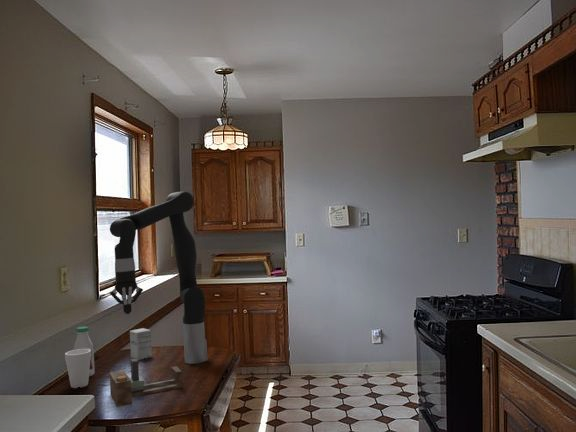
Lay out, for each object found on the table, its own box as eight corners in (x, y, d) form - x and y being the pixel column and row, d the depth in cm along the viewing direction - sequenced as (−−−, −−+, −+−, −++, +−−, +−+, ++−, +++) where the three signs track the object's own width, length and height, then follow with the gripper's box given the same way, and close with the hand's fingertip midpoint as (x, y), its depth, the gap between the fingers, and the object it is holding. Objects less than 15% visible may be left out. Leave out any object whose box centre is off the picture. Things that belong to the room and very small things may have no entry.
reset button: (125, 388, 176) (124, 375, 176) (126, 390, 174) (125, 377, 174) (118, 389, 175) (117, 376, 175) (119, 391, 173) (118, 378, 173)
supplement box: (130, 357, 235) (129, 330, 235) (145, 354, 240) (143, 327, 240) (137, 360, 230) (136, 332, 230) (152, 356, 235) (151, 329, 235)
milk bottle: (78, 373, 213) (76, 326, 214) (96, 372, 214) (94, 324, 214) (71, 379, 206) (69, 329, 206) (91, 377, 206) (89, 328, 207)
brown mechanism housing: (176, 381, 195) (176, 361, 195) (187, 392, 182) (186, 370, 182) (110, 394, 184) (109, 372, 184) (116, 406, 171) (115, 383, 171)
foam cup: (76, 390, 190) (74, 356, 191) (61, 387, 195) (59, 353, 195) (97, 383, 199) (96, 350, 199) (82, 380, 203) (81, 347, 204)
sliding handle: (140, 385, 189) (139, 356, 189) (144, 390, 182) (143, 361, 182) (126, 388, 186) (125, 359, 186) (130, 393, 180) (128, 363, 180)
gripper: (140, 267, 205) (142, 310, 205) (106, 270, 199) (108, 314, 199) (144, 268, 199) (146, 312, 199) (109, 272, 193) (111, 317, 192)
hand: (127, 313), depth 199 cm, fingers closed
